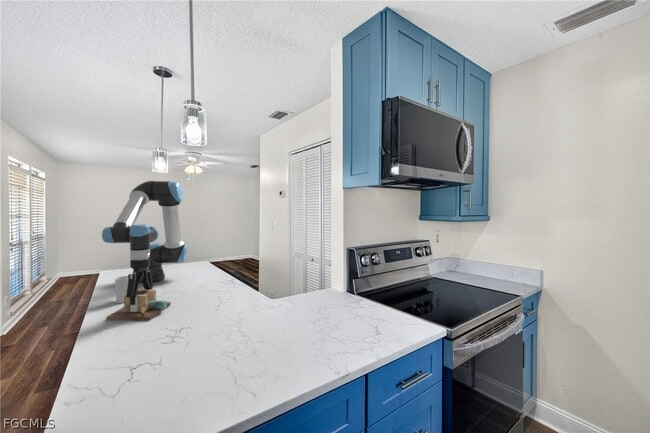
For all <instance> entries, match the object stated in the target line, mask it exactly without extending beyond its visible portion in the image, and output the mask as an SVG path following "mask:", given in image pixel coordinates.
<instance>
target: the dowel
mask: <svg viewBox="0 0 650 433" xmlns="http://www.w3.org/2000/svg"><path fill="white" fill-rule="evenodd" d="M144 315H145V307H142V308H141V316H144Z"/></svg>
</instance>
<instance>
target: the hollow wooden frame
mask: <svg viewBox="0 0 650 433" xmlns="http://www.w3.org/2000/svg"><path fill="white" fill-rule="evenodd" d="M136 297H138V311H137V312H141V308H142V307H145V311H147V310H148V309H165V308H166V302H167V300H157V289H150V290H146V289H138V291H137V295H136ZM123 307H124V312H130V298H129V297H126V295H125V296H124V303H123ZM166 309H167V308H166ZM166 309H165V310H166Z"/></svg>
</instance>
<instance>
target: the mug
mask: <svg viewBox="0 0 650 433" xmlns="http://www.w3.org/2000/svg"><path fill="white" fill-rule="evenodd" d="M127 287H128V275H124V276H123V275H122V276H118V277H115V280H114V288H115V302H116V303H117V304H124V296H125V295H127Z"/></svg>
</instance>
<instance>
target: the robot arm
mask: <svg viewBox="0 0 650 433" xmlns="http://www.w3.org/2000/svg"><path fill="white" fill-rule="evenodd" d="M183 192H184V191H183V188H182V185H181V184H180V183H179V182H177V181H171V180H170V181H169V180H168V181H163V180H157V181H156V180H148V181H145V182H142V183H140V184H138V185H137V186H135V187H134V188H133V189H132V190H131V191H130V193H129V195H128V197H129V199H128V201H127V202H126V204H125V205H124V206H123V209H122V210H121V212H120V214H119V216H118V217H117V218H116V221H115V222H114V223H113V225H112V226H108V227H107V226H106V227H104V228H103V230H102V232H101V239H102V241H103V242H104V243H107V244H108V243H109V244H127V243H128V244H129V246H130V247H129V252H130V253H129V259H130V263H129V265H130V268H131V269H132V270H133V271H132V273H129V274H128V275H127V276H128V287H127V295H126V297H129V298H130V312H137V311H138V297H136V295H137V291H138V290H139V287H140V283H141V284H142V286H143V288H144V289H143V290H154V289H153V287H154V283H156V282H161V281H164V280H165V279H166V273H165V272H164V269H163V265H162V264H181V263H184V262H185V261H186V259H187V255H188V251H189V250H188V248H189V247H188V245H187V244H185V242H184V240H182V237H181V225H180V215H179V205H180V204H181V202H182V201H183V200H184V193H183ZM149 202H157V204H158V206H160V207H161V212H162V220H163V229H164V236H165V242H164V243H162V242H155V241H156V240H157V239H158V238H159V236H160V231H159V230H158V229H157V228H156V227H154V226H150V225H149V224H143V223H142V224H135V223H136V221H137V220H138V218H139V216H140V214H141V212H142V211H143V208H144V207H145V205H147V204H148V203H149ZM153 242H154V243H153Z"/></svg>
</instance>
